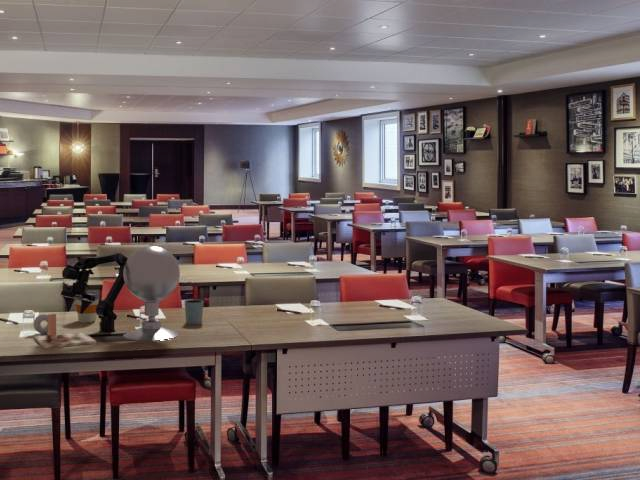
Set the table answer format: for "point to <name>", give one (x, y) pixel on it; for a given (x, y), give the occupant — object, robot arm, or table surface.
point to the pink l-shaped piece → (53, 328)
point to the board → (73, 340)
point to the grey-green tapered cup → (194, 311)
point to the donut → (38, 323)
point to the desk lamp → (151, 288)
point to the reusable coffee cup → (87, 309)
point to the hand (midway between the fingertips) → (74, 312)
